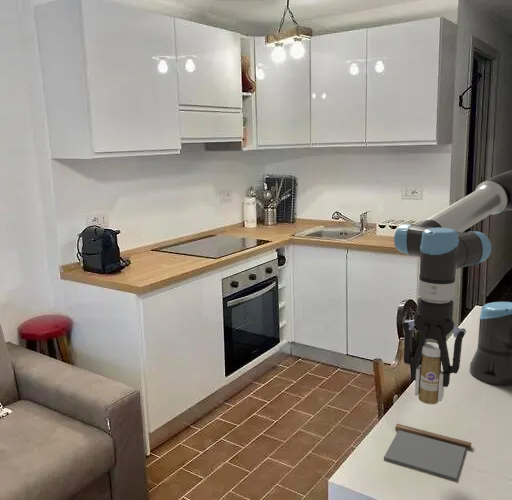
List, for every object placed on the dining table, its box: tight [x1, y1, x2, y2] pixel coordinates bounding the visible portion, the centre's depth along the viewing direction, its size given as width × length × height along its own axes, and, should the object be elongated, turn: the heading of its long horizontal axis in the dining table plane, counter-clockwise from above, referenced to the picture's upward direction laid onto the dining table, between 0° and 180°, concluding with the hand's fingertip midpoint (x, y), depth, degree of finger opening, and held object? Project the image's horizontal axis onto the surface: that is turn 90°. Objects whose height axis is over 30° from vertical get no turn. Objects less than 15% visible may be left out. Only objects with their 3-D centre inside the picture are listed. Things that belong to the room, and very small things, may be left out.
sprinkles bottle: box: [418, 342, 442, 405], centre depth 119 cm, size 5×5×14 cm
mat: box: [383, 430, 466, 481], centre depth 123 cm, size 13×16×1 cm
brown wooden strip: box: [394, 423, 473, 450], centre depth 130 cm, size 2×18×1 cm, turn 60°
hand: (429, 395), depth 120 cm, fingers closed on sprinkles bottle, 4 cm apart
